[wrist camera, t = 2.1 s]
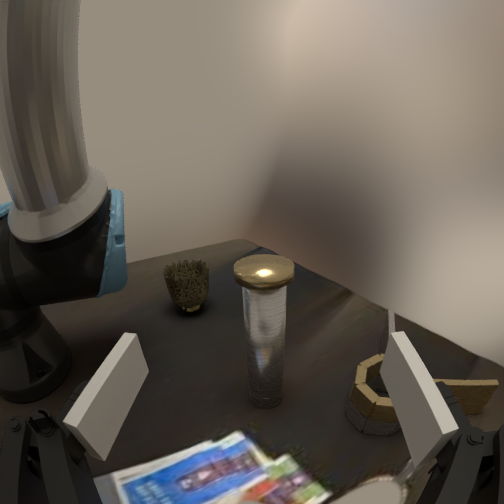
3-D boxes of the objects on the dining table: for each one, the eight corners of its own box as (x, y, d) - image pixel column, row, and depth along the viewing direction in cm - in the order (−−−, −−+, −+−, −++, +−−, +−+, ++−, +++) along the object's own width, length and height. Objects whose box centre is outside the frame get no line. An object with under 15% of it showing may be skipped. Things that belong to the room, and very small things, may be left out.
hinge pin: (253, 418, 25) (246, 283, 19) (238, 388, 29) (226, 259, 23) (294, 404, 26) (305, 270, 21) (276, 377, 30) (277, 251, 25)
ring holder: (408, 484, 14) (432, 461, 12) (306, 370, 31) (310, 339, 29) (480, 411, 18) (500, 382, 17) (383, 336, 36) (390, 307, 34)
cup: (218, 316, 44) (214, 271, 41) (174, 326, 41) (165, 280, 38) (206, 296, 50) (202, 255, 47) (168, 304, 47) (160, 263, 45)
